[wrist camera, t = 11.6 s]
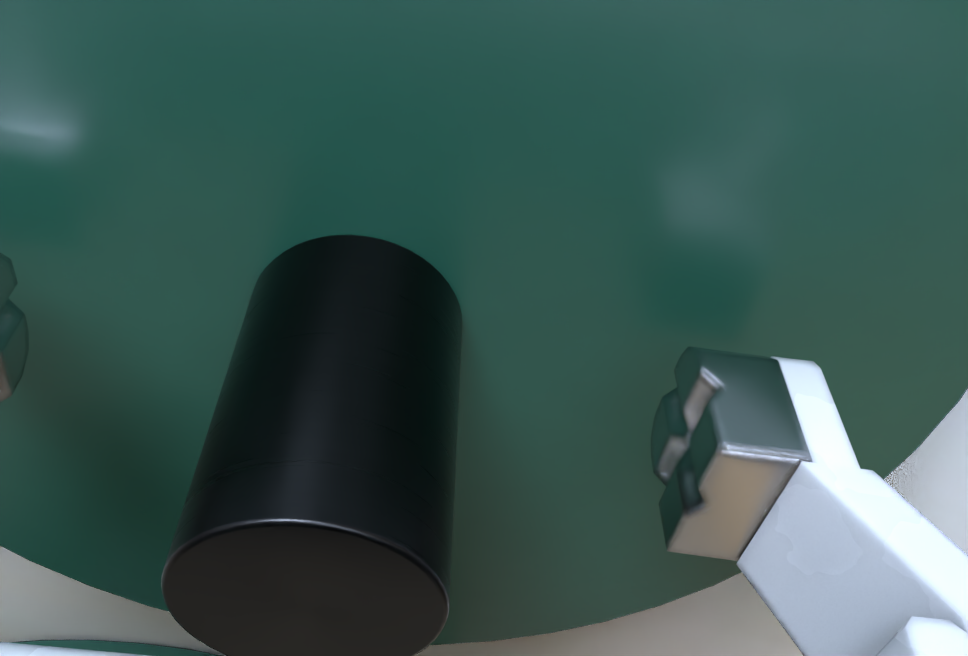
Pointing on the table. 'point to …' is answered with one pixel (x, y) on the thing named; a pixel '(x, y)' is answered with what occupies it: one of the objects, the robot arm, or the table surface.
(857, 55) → the tin lid
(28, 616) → the table surface
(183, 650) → the tin
